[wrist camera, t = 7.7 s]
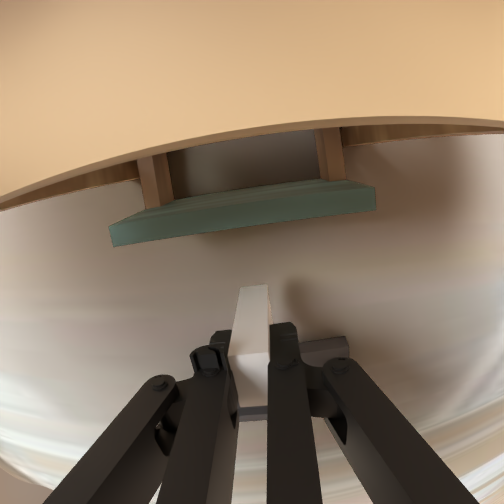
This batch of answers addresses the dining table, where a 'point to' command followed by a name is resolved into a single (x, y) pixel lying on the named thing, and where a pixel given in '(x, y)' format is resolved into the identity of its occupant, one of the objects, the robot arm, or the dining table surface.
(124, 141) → the brown wooden frame
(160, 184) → the sled
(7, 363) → the dining table surface
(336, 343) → the tray
